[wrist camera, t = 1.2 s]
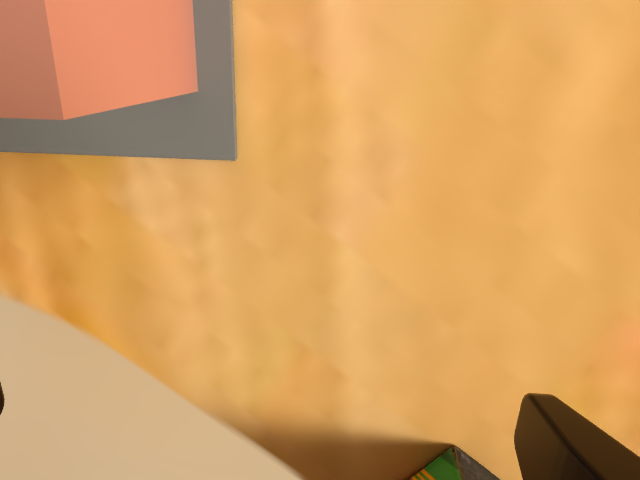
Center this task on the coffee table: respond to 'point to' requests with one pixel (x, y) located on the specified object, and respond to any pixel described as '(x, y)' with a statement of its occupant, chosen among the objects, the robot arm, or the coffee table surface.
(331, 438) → the coffee table surface
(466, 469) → the juice carton
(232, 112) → the mat
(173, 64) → the domino
